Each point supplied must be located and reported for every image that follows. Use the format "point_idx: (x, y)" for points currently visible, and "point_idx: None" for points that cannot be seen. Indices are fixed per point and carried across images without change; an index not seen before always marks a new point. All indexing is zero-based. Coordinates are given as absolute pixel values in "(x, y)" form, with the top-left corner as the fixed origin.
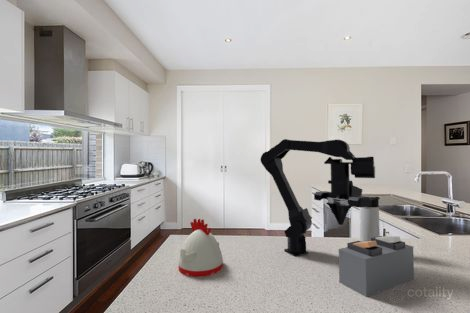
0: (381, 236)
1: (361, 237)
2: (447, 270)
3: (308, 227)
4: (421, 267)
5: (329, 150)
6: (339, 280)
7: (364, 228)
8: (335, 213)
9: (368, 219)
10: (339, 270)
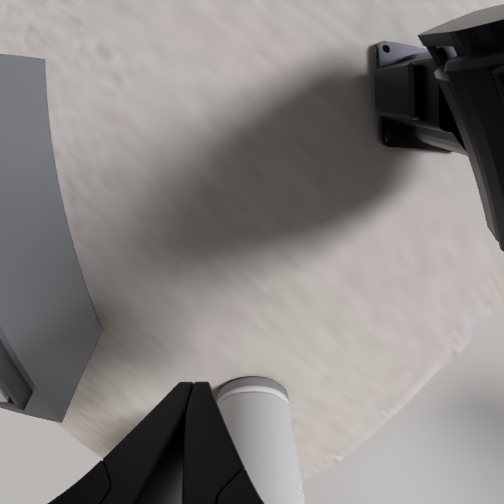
0: (2, 396)
1: (269, 429)
2: (80, 425)
3: (469, 147)
4: (99, 407)
5: None
6: (39, 59)
7: (250, 472)
8: (190, 489)
9: None
10: (13, 56)
